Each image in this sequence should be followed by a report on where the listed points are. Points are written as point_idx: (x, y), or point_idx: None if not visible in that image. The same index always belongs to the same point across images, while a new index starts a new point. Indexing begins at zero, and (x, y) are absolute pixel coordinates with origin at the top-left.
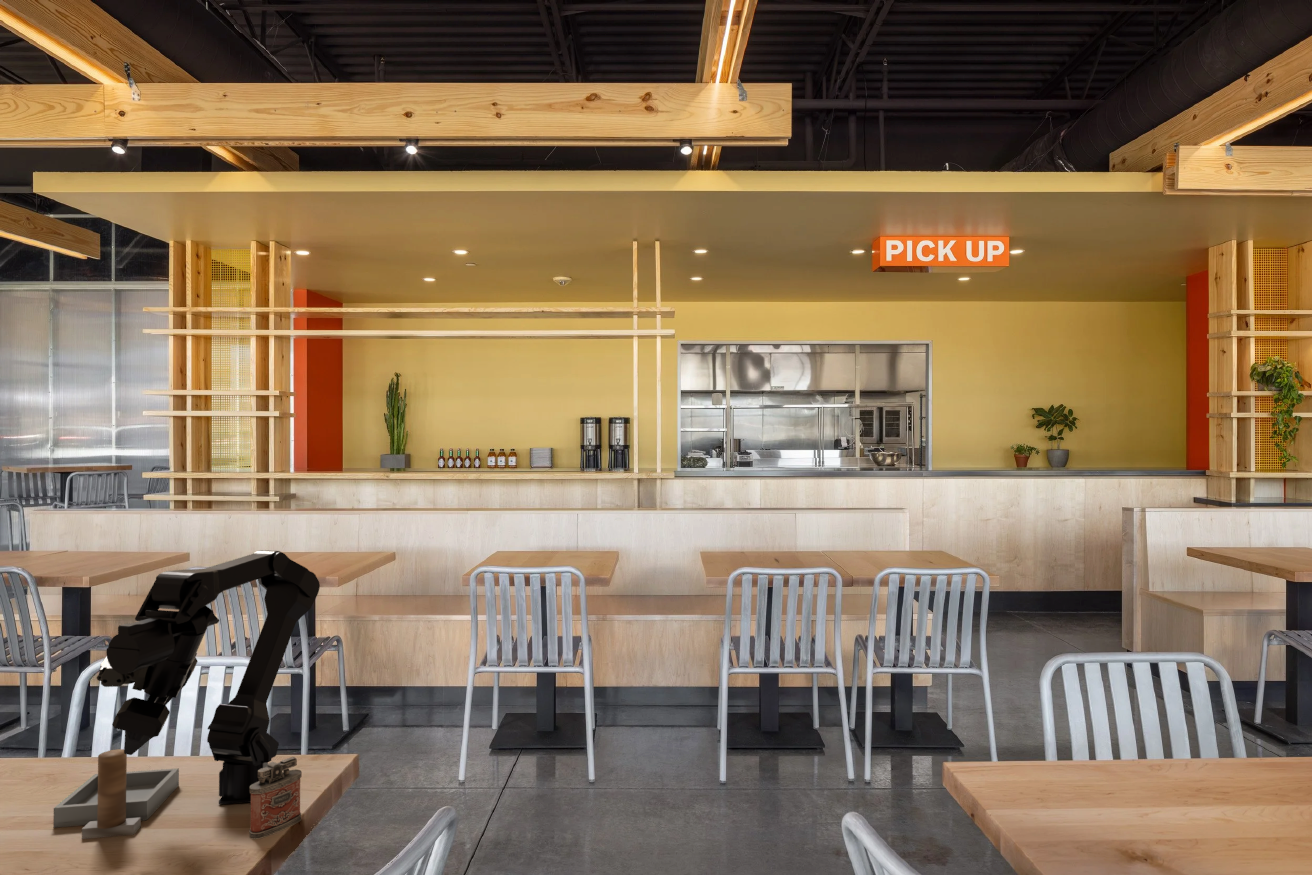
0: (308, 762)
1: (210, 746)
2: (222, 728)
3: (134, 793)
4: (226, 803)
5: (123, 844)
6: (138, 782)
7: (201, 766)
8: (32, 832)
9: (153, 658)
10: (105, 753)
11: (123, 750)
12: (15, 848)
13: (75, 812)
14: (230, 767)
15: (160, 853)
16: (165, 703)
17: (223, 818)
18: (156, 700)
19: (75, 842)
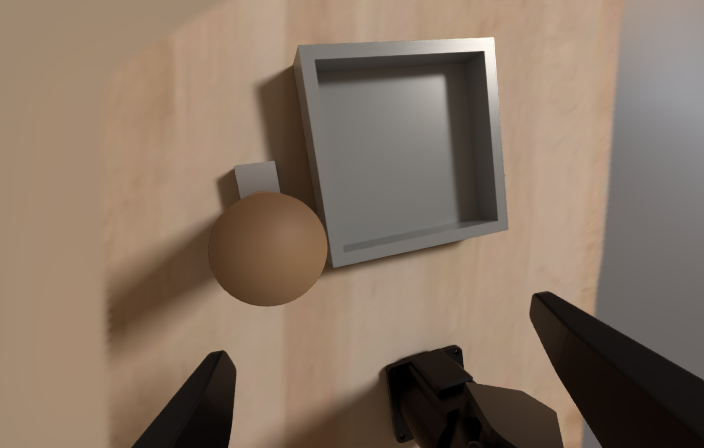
0: (557, 417)
1: (458, 441)
2: None
3: (434, 165)
4: (387, 382)
5: (206, 280)
6: (476, 149)
7: (562, 218)
8: (269, 27)
9: None
10: (273, 214)
11: (309, 275)
12: (185, 35)
13: (304, 105)
14: (435, 431)
15: (162, 388)
16: (603, 444)
17: (326, 412)
18: (623, 419)
19: (217, 164)
